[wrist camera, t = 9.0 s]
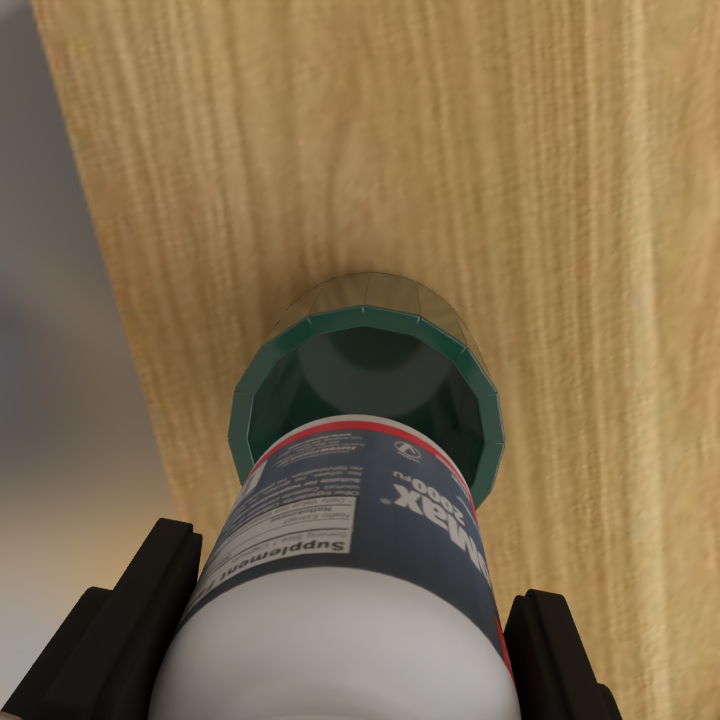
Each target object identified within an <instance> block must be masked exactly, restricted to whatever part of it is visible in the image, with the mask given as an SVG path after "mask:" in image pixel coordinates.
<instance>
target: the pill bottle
mask: <svg viewBox="0 0 720 720" xmlns="http://www.w3.org/2000/svg"><path fill="white" fill-rule="evenodd" d="M148 720H521V712H520V705H519V699H518V695H517V690H516V686H515V681H514V676H513V673H512V667H511V662H510V658H509V655H508V651H507V646H506V643H505V639H504V636H503V632H502V628H501V623H500V619H499V614H498V610H497V606H496V601H495V596H494V592H493V587H492V583H491V580H490V575H489V571H488V567H487V562H486V558H485V553H484V548H483V543H482V538H481V533H480V529H479V525H478V520H477V515H476V512H475V508H474V504H473V500H472V497H471V494H470V491H469V488H468V486H467V484H466V481H465V480H464V478H463V476H462V474H461V473H460V471H459V469H458V468H457V467H456V465H455V464H454V462H453V461H452V460H451V459H450V457H449V456H448V455H447V454H446V453H445V452H444V451H443V450H442V449H441V448H440V447H439V446H438V445H437V444H435V443H434V442H433V441H432V440H430V439H429V438H428V437H426V436H425V435H423V434H422V433H420V432H418V431H417V430H415V429H413V428H411V427H409V426H406V425H404V424H401V423H399V422H396V421H393V420H390V419H386V418H382V417H377V416H370V415H339V416H332V417H327V418H323V419H319V420H315V421H312V422H310V423H307V424H304V425H302V426H300V427H298V428H296V429H294V430H292V431H291V432H289V433H287V434H286V435H284V436H283V437H282V438H280V439H279V440H277V441H276V442H275V443H274V444H273V445H272V446H271V447H270V448H269V449H268V450H267V451H266V452H265V453H264V454H263V455H262V456H261V457H260V459H259V460H258V461H257V463H256V464H255V465H254V467H253V469H252V471H251V472H250V474H249V476H248V478H247V480H246V481H245V483H244V485H243V487H242V489H241V491H240V493H239V495H238V497H237V500H236V502H235V504H234V506H233V508H232V510H231V512H230V514H229V516H228V518H227V520H226V523H225V525H224V527H223V529H222V531H221V533H220V535H219V537H218V539H217V541H216V543H215V546H214V548H213V550H212V552H211V554H210V556H209V558H208V560H207V562H206V564H205V566H204V568H203V571H202V573H201V575H200V578H199V580H198V582H197V584H196V586H195V588H194V590H193V592H192V595H191V597H190V599H189V601H188V603H187V605H186V608H185V610H184V612H183V614H182V617H181V619H180V621H179V623H178V626H177V628H176V630H175V632H174V634H173V637H172V638H171V640H170V642H169V644H168V646H167V648H166V649H165V652H164V657H163V660H162V662H161V665H160V667H159V670H158V673H157V676H156V679H155V682H154V686H153V689H152V693H151V698H150V703H149V709H148Z"/></svg>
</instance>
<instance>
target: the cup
mask: <svg viewBox="0 0 720 720" xmlns="http://www.w3.org/2000/svg"><path fill="white" fill-rule="evenodd" d="M339 415H370V416H377V417H382V418H386V419H390V420H393V421H396V422H399V423H401V424H404V425H406V426H409V427H411V428H413V429H415V430H417V431H418V432H420V433H422V434H423V435H425V436H426V437H428V438H429V439H430V440H432V441H433V442H434V443H435V444H437V445H438V446H439V447H440V448H441V449H442V450H443V451H444V452H445V453H446V454H447V455H448V456H449V457H450V459H451V460H452V461H453V462H454V464H455V465H456V467H457V468H458V469H459V471H460V473H461V474H462V476H463V478H464V480H465V481H466V484H467V486H468V488H469V491H470V494H471V497H472V500H473V504H474V508H475V511H476V510H477V508H478V507H479V506H480V505H481V503H482V502H483V501H484V500H485V499H486V497H487V496H488V495H489V494H490V492H491V490H492V488H493V486H494V482H495V479H496V475H497V472H498V468H499V464H500V461H501V457H502V454H503V450H504V447H505V434H504V427H503V421H502V415H501V408H500V402H499V396H498V392H497V390H496V387H495V385H494V382H493V380H492V378H491V375H490V373H489V371H488V368H487V366H486V364H485V362H484V359H483V357H482V355H481V352H480V350H479V348H478V345H477V343H476V341H475V340H474V338H473V337H472V335H471V334H470V332H469V330H468V328H467V327H466V325H465V323H464V321H463V320H462V319H461V317H460V316H459V315H458V313H457V312H456V311H455V309H454V308H452V306H451V305H450V304H449V303H448V302H447V301H446V300H444V299H443V298H442V297H441V296H439V295H438V294H437V293H435V292H434V291H432V290H431V289H429V288H427V287H425V286H424V285H422V284H420V283H418V282H415V281H413V280H410V279H408V278H404V277H401V276H397V275H393V274H385V273H357V274H349V275H345V276H342V277H338V278H334V279H332V280H330V281H327V282H325V283H322V284H320V285H319V286H317V287H315V288H314V289H312V290H310V291H309V292H307V293H306V294H305V295H304V296H302V297H301V298H300V299H298V300H297V301H296V302H295V303H294V304H292V305H291V306H290V307H289V308H288V309H287V310H286V312H285V313H284V315H283V316H282V318H281V319H280V320H279V322H278V323H277V325H276V326H275V328H274V329H273V330H272V332H271V333H270V335H269V336H268V338H267V339H266V341H265V342H264V343H263V345H262V346H261V348H260V349H259V351H258V353H257V354H256V356H255V357H254V359H253V360H252V362H251V364H250V365H249V367H248V368H247V370H246V371H245V373H244V375H243V376H242V378H241V379H240V381H239V383H238V384H237V386H236V388H235V391H234V395H233V402H232V409H231V417H230V424H229V431H228V442H229V446H230V449H231V453H232V456H233V460H234V463H235V467H236V470H237V473H238V477H239V480H240V484H241V486H242V487H243V485H244V483H245V481H246V480H247V478H248V476H249V474H250V472H251V471H252V469H253V467H254V465H255V464H256V463H257V461H258V460H259V459H260V457H261V456H262V455H263V454H264V453H265V452H266V451H267V450H268V449H269V448H270V447H271V446H272V445H273V444H274V443H275V442H276V441H277V440H279V439H280V438H282V437H283V436H284V435H286V434H287V433H289V432H291V431H292V430H294V429H296V428H298V427H300V426H302V425H304V424H307V423H310V422H312V421H315V420H319V419H323V418H327V417H332V416H339Z"/></svg>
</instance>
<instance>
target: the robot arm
mask: <svg viewBox="0 0 720 720" xmlns="http://www.w3.org/2000/svg"><path fill="white" fill-rule="evenodd" d="M202 539H203V537H202V534H197V533H193V525H192V524H191V523H186V522H181V521H176V520H170V519H165V518H160V519H159V520H158V521H157V522H156V524H155V526H154V527H153V529H152V530H151V532H150V533H149V535H148V536H147V538H146V539H145V541H144V542H143V544H142V546H141V547H140V549H139V550H138V552H137V553H136V555H135V556H134V558H133V559H132V561H131V563H130V564H129V566H128V567H127V569H126V570H125V572H124V574H123V575H122V577H121V578H120V580H119V581H118V583H117V584H116V586H115V587H114V589H113V590H108V589H103V588H98V587H90V588H88V589H87V590H86V591H85V593H84V594H83V595H82V596H81V598H80V599H79V601H78V602H77V603H76V605H75V606H74V608H73V609H72V611H71V612H70V614H69V615H68V616H67V618H66V619H65V620H64V622H63V623H62V625H61V626H60V627H59V629H58V630H57V632H56V633H55V634H54V636H53V637H52V639H51V640H50V642H49V643H48V644H47V646H46V647H45V649H44V650H43V651H42V653H41V654H40V656H39V657H38V658H37V660H36V661H35V663H34V664H33V665H32V667H31V668H30V670H29V671H28V673H27V674H26V676H25V677H24V678H23V680H22V681H21V683H20V684H19V685H18V687H17V688H16V690H15V691H14V692H13V694H12V695H11V697H10V698H9V700H8V701H7V702H6V704H5V705H4V706H3V708H2V709H1V711H0V720H148V709H149V703H150V698H151V693H152V689H153V686H154V682H155V679H156V676H157V673H158V670H159V667H160V665H161V662H162V660H163V657H164V652H165V649H166V648H167V646H168V644H169V642H170V640H171V638H172V637H173V634H174V632H175V630H176V628H177V626H178V623H179V621H180V619H181V617H182V614H183V612H184V610H185V608H186V605H187V603H188V601H189V599H190V597H191V595H192V592H193V590H194V588H195V586H196V584H197V578H198V571H199V563H200V556H201V548H202ZM503 636H504V639H505V643H506V646H507V651H508V655H509V658H510V662H511V667H512V673H513V676H514V681H515V686H516V690H517V695H518V699H519V705H520V712H521V720H622V717H621V715H620V712H619V710H618V707H617V705H616V702H615V700H614V697H613V695H612V693H611V692H610V690H609V688H608V687H606V686H605V685H604V684H600V683H597V681H596V678H595V676H594V673H593V670H592V668H591V665H590V662H589V660H588V657H587V655H586V652H585V649H584V647H583V644H582V641H581V639H580V636H579V634H578V631H577V628H576V626H575V623H574V621H573V618H572V615H571V613H570V610H569V607H568V605H567V602H566V600H565V598H564V596H562V595H560V594H555V593H550V592H545V591H540V590H534V589H529V590H528V591H527V593H526V595H525V596H520V595H517V596H516V597H515V599H514V601H513V604H512V608H511V611H510V614H509V617H508V621H507V624H506V627H505V630H504V633H503Z"/></svg>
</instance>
